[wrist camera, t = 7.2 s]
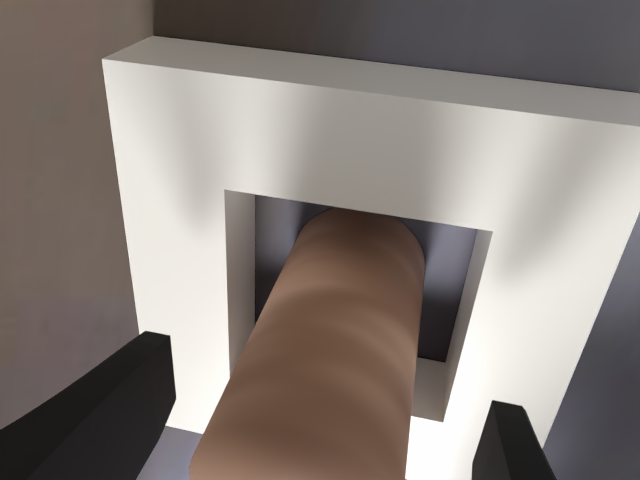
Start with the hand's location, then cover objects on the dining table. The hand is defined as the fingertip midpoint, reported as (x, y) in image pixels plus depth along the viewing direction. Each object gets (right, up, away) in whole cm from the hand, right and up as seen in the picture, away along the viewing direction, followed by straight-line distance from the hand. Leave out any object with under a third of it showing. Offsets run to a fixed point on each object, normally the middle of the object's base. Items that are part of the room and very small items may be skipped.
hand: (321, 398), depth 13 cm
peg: (+1, +3, +5) cm, 5 cm away
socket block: (+1, +3, +4) cm, 5 cm away
